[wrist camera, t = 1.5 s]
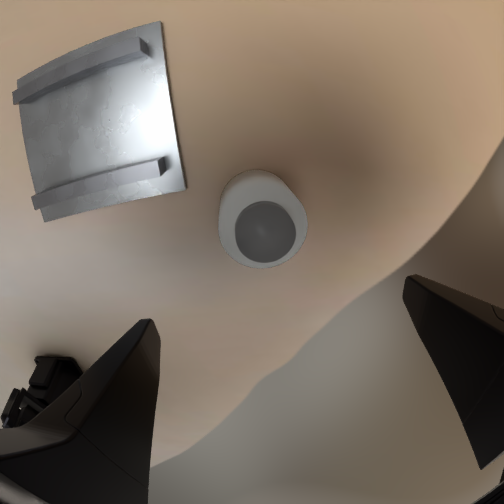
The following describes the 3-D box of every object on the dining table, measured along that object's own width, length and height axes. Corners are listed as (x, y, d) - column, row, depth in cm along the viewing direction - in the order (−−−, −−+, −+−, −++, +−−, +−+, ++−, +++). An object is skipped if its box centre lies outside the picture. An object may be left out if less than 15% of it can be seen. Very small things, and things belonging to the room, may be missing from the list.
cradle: (186, 187, 19) (181, 197, 17) (48, 219, 19) (32, 231, 17) (161, 23, 14) (153, 11, 12) (21, 80, 14) (2, 79, 11)
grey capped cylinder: (293, 232, 21) (313, 269, 16) (225, 242, 21) (226, 283, 16) (288, 165, 19) (309, 183, 14) (214, 175, 19) (210, 197, 14)
